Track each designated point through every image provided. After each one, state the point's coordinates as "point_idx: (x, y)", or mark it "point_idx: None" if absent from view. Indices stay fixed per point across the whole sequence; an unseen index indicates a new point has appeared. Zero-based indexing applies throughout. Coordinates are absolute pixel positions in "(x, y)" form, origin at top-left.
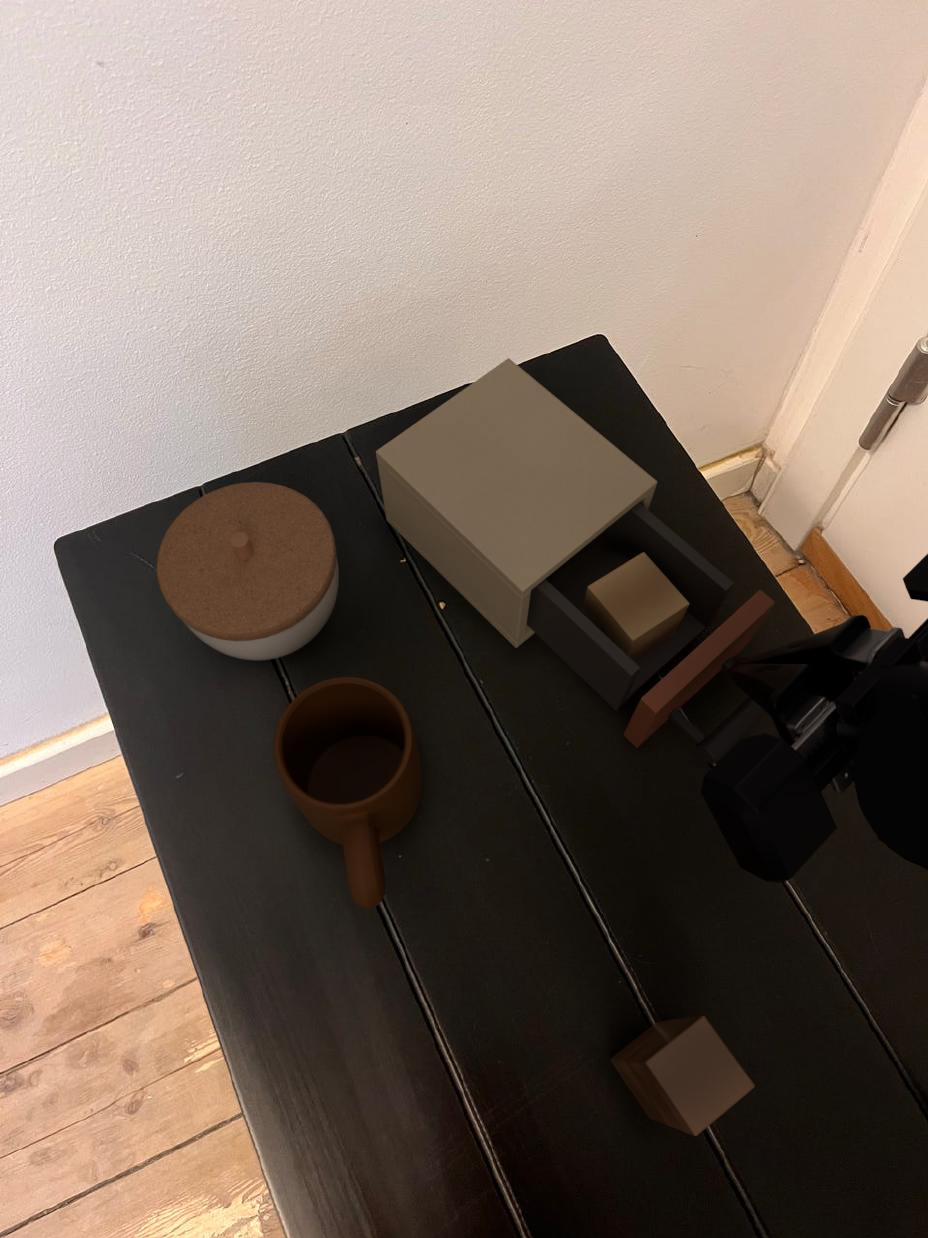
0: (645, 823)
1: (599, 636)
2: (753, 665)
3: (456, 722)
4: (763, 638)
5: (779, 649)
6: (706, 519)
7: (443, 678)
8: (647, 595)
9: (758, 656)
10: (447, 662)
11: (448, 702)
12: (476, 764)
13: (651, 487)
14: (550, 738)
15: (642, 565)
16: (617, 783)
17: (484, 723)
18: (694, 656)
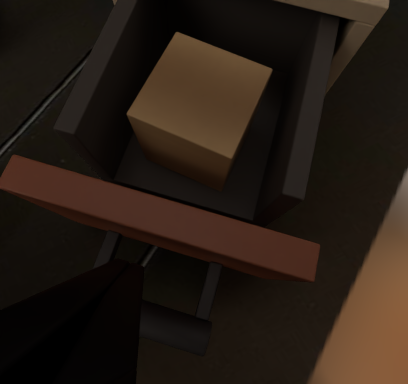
0: (9, 272)
1: (96, 64)
2: (71, 303)
3: (38, 66)
4: (293, 294)
5: (113, 357)
6: (388, 170)
7: (75, 38)
8: (207, 100)
9: (121, 303)
10: (92, 34)
11: (54, 52)
12: (5, 99)
13: (371, 5)
14: (60, 144)
15: (250, 76)
16: (41, 224)
17: (48, 86)
18: (129, 197)
